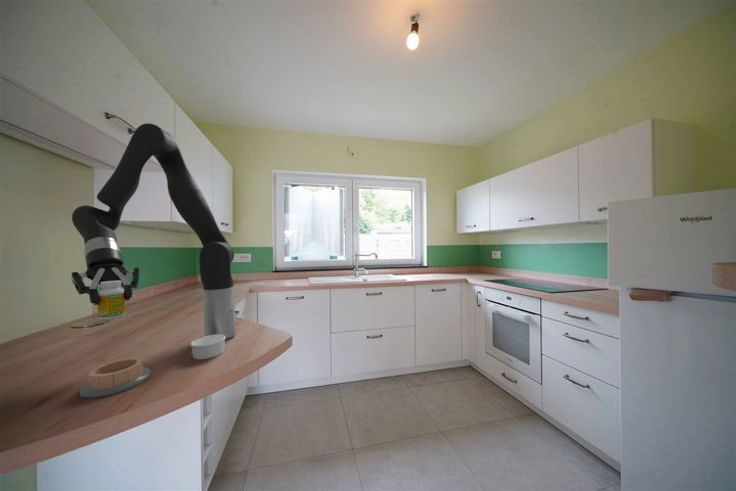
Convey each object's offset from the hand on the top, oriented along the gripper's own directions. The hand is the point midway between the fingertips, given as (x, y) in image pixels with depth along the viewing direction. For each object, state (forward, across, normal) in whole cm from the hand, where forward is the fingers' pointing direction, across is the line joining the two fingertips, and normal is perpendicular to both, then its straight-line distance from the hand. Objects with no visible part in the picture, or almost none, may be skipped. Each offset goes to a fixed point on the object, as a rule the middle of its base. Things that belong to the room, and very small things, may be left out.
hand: (112, 300), depth 70 cm
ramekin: (+21, +18, +4) cm, 29 cm away
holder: (+21, -1, +4) cm, 22 cm away
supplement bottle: (+2, 0, +5) cm, 5 cm away
